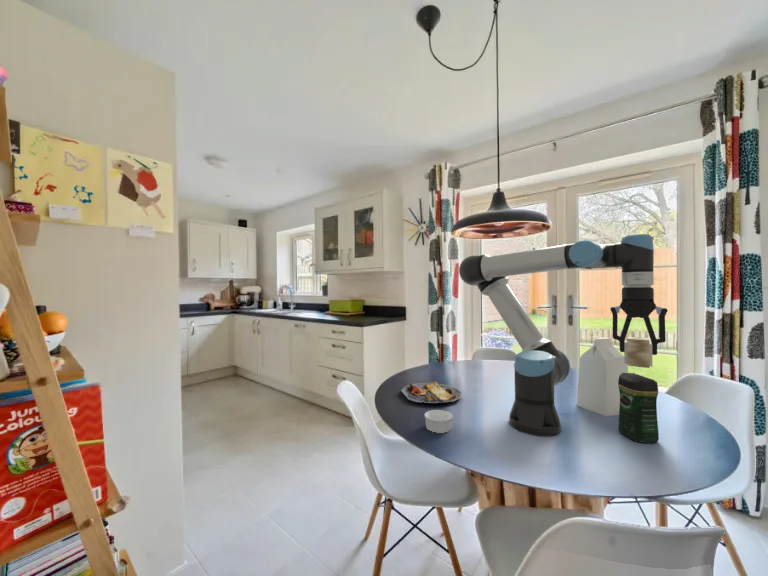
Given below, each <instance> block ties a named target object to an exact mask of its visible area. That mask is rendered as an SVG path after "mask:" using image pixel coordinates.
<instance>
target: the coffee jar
mask: <svg viewBox="0 0 768 576" xmlns="http://www.w3.org/2000/svg"><path fill="white" fill-rule="evenodd" d="M618 387H619V392H620V408H619V414H618V426H617V428H618V431H619V432H620V433H621V434H623V435H624V436H626V437H627V438H629V439H630V440H632V441H635V442H639V443H645V444H654V443H657V442H659V438H660V437H659V436H660V435H659V423H658V410H657V409H658V408H657V399H658V394H659V386H658V382H657V381H656V380H655V379H653V378H649V377H646V376H643V375H641V374H637V373H635V372H628V373H622V374H621V375H620V376H619V380H618Z"/></svg>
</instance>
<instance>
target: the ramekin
mask: <svg viewBox="0 0 768 576" xmlns="http://www.w3.org/2000/svg"><path fill="white" fill-rule="evenodd" d="M424 419H425V427H426V429H427V430H428V431H429V430H430V432H431V431H432V432H431V433H434V432H436V433H435V434H446V433H448V432H450V431H451V429H452V421H453V414H452V413H451V412H450V411H447V410H443V409H433V410H427V411H426V412H425V413H424ZM445 432H446V433H445Z"/></svg>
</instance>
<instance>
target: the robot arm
mask: <svg viewBox="0 0 768 576" xmlns="http://www.w3.org/2000/svg"><path fill="white" fill-rule="evenodd" d="M654 253H655V249H654V239H653V236H652V235H650V234H649V233H648V234H647V233H640V234H639V233H637V234H630V235H627V234H626V235H624V236H622V237H621V240H620V242H617V243H607V244H605V243H604V244H602V243H601V244H600V243H598V242H597V241H594V240H591V239H582V240H578V241H576V242H573V243H568V244H562V245H555V246H550V247H549V246H548V247H543V248H536V249H530V250H524V251H517V252H511V253H506V254H499V255H492V256H490V255H489V254H488V253H487V254H481V255H470V256H466V257H465V258H464V259H463V260H462V261H461V263H460V264H459V268H458V274H459V277H460V278H461V279H460V280H462V281H463V282H464V283H466V284H467V285H469V286H476V287H477V288H478V290H479V291H480V293H481V294H482V295H483V296H487V297H488V298H489V300H490V302H491V303H492V304H493V306H494V308H495V309H496V310H497V312H498V314H499V315H500V317H501V319H502V320H503V321H504V324H505V325H506V327H507V328H508V329H509V331H510V332H511V334H512V335H513V337H514V339H515V340H516V342H517V343H518V345H519V347H520V349H521V352H518V353H516V354H515V357H514V364H513V367H514V402H513V403H512V407H511V409H510V411H509V416H508V417H509V419H508V420H509V424H510V426H511V427H512V428H514V429H515V430H518V431H520V432H521V433H522V432H523V433H525V434H529V435H534V436H542V437H543V436H544V437H545V436H546V437H547V436H549V437H550V436H555V435H558V434H560V432H561V431H562V430H561V429H562V427H561V426H562V424H561V420H560V417H559V414H558V411H557V409H556V406H555V386H557V385H559V383H562V382H564V381H565V379H566V378H567V377H568V375H570V371H571V363H570V360H569V357H568V356H567V355H566V354H565V353H564V352H563V351H561V350H560V349H557V348H556V346H555V345H554V343H553V342H552V340H549V339H547V338H544V336H543V334H541V332H540V330H539V329H538V327H537V326H536V325H535V323H534V322H533V320H532V318H531V317H530V316H529V314H528V313H527V310H525V309H524V307H523V305H522V303H521V302H520V301H519V300H518V298H517V297H516V295H515V294H514V292H513V291H512V289H511V287H510V286H509V285H508V283H509V280H510V279H509V278H508V277H509V276H518V275H519V276H520V275H526V274H534V273H536V274H537V273H544V272H545V273H546V272H553V271H562V270H569V269H572V270H573V269H580V270H584V269H585V270H592V269H594V270H595V269H609V268H610V269H613V268H621V285H622V286H623V287H622V288H621V302H620V304H619V305H616V306H611V307H610V311H611V314H612V339H613V340H616V341H618V342H619V352H620V353H624V354H623V356H624V363H625V364H628V342H627V340H626V339H627V334H628V331H629V328H630V325H631V322H632V318H633V319H634V318H640V319H643V321H644V324H645V327H646V330H647V333H648V336H649V340H650V341H651V342H649V351H650V368H652V367H653V356H657V354H658V345H659V344H660V343H665V342H666V316H667V312H668V308H666V307H661V306H658V305H656V303H655V296H654V295H655V292H654V291H655V289H654V288H653V287H652V286H654V284H655V283H654V278H655V277H654V276H655V275H654V262H655V261H654V257H655V256H654ZM620 310H622V311H623V312H624V313H625V314H626V317H625V320H624V323H623V326H622V330H621V333H620V335H618V323H619V322H618V314H619V313H620ZM654 311H656V314H657V315H658V337H656V334H655V331H654V329H653V328H654V327H653V326H652V323H651V319H650V315H651V314H652V312H654Z"/></svg>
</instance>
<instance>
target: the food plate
mask: <svg viewBox="0 0 768 576" xmlns="http://www.w3.org/2000/svg"><path fill="white" fill-rule="evenodd" d="M425 389H426V390H425ZM400 391H401V393H402V394H403V396H404V397H406V398H407V400H408V401H411V402H415V403H423V402H424V404H439V403H440V404H442V403H444V404H445V403H449V402H451V403H452V402H455V401H457V400H459V399H461V398H462V393H461V391H460V390H458V389H457V388H455V387H454V386H452V385H448V384H443V383H438V382H437V381H436V380H434V381H431V382H414V383H409V384H408V385H405V386H403V387H402V388H401V389H400ZM427 392H430V393H432V394H433V395H434V396H436V397H438V398H439V399H440V400H442V401H443V402H441V401H438V399H436V398H435V397H433V396H431V395H426V394H428V393H427ZM408 394H412V395H414V396H416V397H417V396H425V398H426V399H427V401H431V402H427V401H424V400H422V401H420V400H418V399H417V400H415V399H413V398H412V397H411V398H412V399H411V398H409V397H408ZM409 396H410V395H409ZM434 401H437V402H434Z"/></svg>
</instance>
